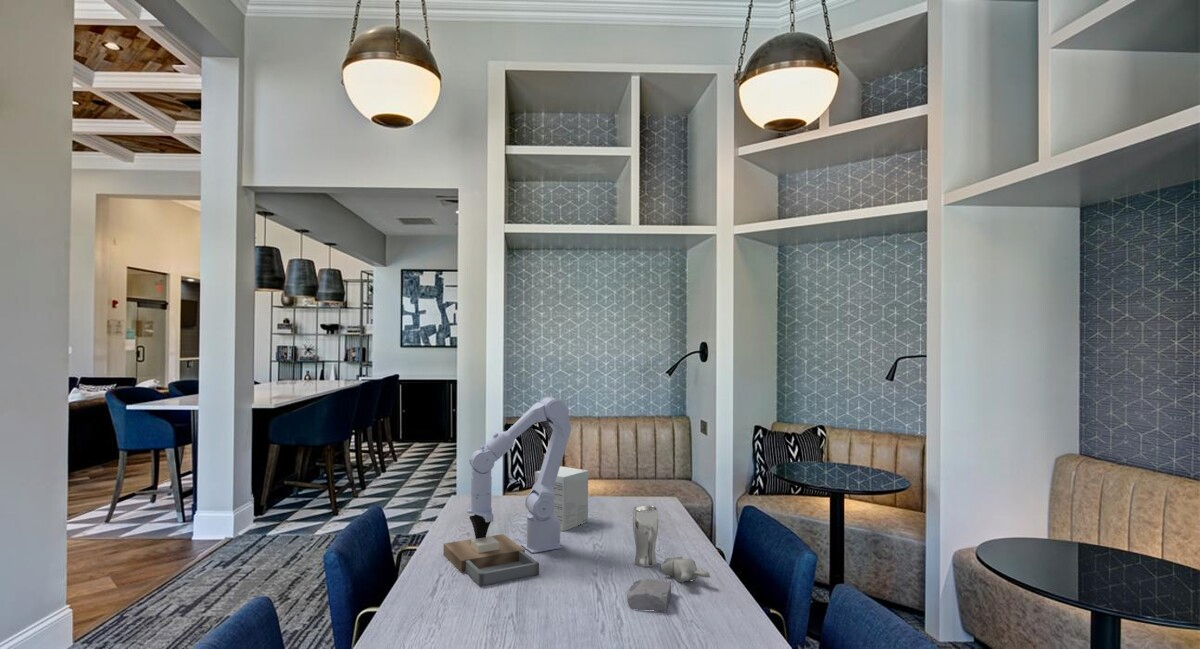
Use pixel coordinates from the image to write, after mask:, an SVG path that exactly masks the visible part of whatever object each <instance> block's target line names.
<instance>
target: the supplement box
mask: <svg viewBox="0 0 1200 649" xmlns="http://www.w3.org/2000/svg"><path fill="white" fill-rule="evenodd" d="M539 474H540V470H536V471H534V484H535V483H536V482H537V480H538V477H539ZM554 495H555V496H554V500H553V504H554V510H553V513H552V515H556V516H557V517H558V519H559V522H560V532H565V531H568V530H570V529H573V528H576V527H579V526H581V525H584V524H586V523H585V522H587V523H588V522H589V470H587V469H581V468H573V467H567V466H561V465H560V468H559V471H558V475H557V478H556V481H555V484H554ZM583 523H584V524H583ZM580 524H581V525H580ZM578 525H579V526H578Z"/></svg>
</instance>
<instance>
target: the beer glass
mask: <svg viewBox="0 0 1200 649" xmlns="http://www.w3.org/2000/svg"><path fill="white" fill-rule="evenodd" d="M658 512H659V511H658V507H656V506H653V505H648V504H647V505H645V504H641V505H635V506H634V507H633V515H632V530H633V531H632V532H633V538H634V544H635V558H634V561H633V562H634V565H635V566H637V567H640V566H641V568H652V567H654V566H656V565H657V558H656V545H657V538H658V533H659V513H658ZM651 566H652V567H651Z"/></svg>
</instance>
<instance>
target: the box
mask: <svg viewBox="0 0 1200 649" xmlns="http://www.w3.org/2000/svg"><path fill="white" fill-rule="evenodd" d="M464 573H465V574H467V576H469V578H470V579H471V580H472V581H473V582H474V583H475V584H476V585H477V586H478V587H486V586H491V585H496V584H501V583H506V582H509V581H510V582H511V581H516V580H519V579H520V580H521V579H526V578H530V577H535V576H536V577H537V576H539V575H540V562H538V561H536V559H534V558H533V557H531V556H530V555H528V554H527V553H526V552H525V553H524V552H523V551H519V561H516V562H511V563H505V564H500V565H495V566H489V567H484V568H477V567H476V566H475V565H474V564H473V563H472V562H471V561H470V560H467V561H466V571H465V572H464Z"/></svg>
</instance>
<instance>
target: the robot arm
mask: <svg viewBox="0 0 1200 649" xmlns="http://www.w3.org/2000/svg"><path fill="white" fill-rule="evenodd" d="M569 411H570V409H569V408H568V407H567V405H566V404H565V402H564V401H563V400H562V399H560V398H553V397H552V396H544V397H542V398H540V400H539V401H537V402H535V403H534V404H533V405H532V406H531V407H530V408H529V409H528V410H527V411H526V412H525V413H524V414H523V415H522V416H520V417H519V419H518V420H517V421H516V422H515V423H514V424H513V425H511V426H510V427H509V428H508V430H506V431H504V430H503V431H502V430H501V431H499V432H495V433H493V434H492V436H493V437H492V438H491V439H490V440H489V441H487V442H486V443H485V444H484V445H483V444H482V445H481V446H480V447H479V450H478V449H477V450H475V451H474V452H473V453H472V454H471V457H470V459H469V465H470V466H471V467H472V468H471V478H470V479H471V480H470V482H471V483H470V495H471V496H470V503H469V509H466V513H467V514H473V515H469V518H468V519H469V520H470V522H471V524H472V527H473V532H474V537H475V538H474V539H478V538H484V537H487V534H488V530H489V527H490V525H491V523H492V522H494V514H493V507H492V483H493V482H492V477H493V476H492V470H493V468H494V466H495V462H497V461H499V459H501V458H502V457H503V456H504V455H505V454H506V453H507V452H508V451H510V449H512V448H513V447H514V442H515V439H517V438H518V437H519V436H521V435H522V434H523V433H525V431H527V430H528V429H529V428H530V427H532V426H533V424H535V423H539V422H547V423H548V424H549V427H550V428H551V430H552V432H551V436H550V439H549V442H548V445H547V449H546V452H545V455H544V458H543V461H542V464H541V468H540V470H539V471H540V474H539V477H538V480H537V482H536V483H535V482H534V484H533V485H532V488H531V491H530V492H529V493H528V494H527V496H526V497H525V501H524V505H525V508H526V509H527V510H528V513H527V514H526V543H525V542H523V543H521V546H520V547H522V548H523V549H525V550H527V551H528V552H529V553H531V554H535V553H541V552H545V551H547V552H548V551H552V550H558V549H562V546H561V531H560V522H559V519H558V517H557V516H556V515H552V513H553V510H554V504H553V500H554V496H555V495H554V484H555V481H556V478H557V475H558V471H559V468H560V466H561V465H562V461H563V458H564V455H565V451H566V449H567V446H568V442H569V438H570V435H571V432H572V425H571V419H570V416H569Z"/></svg>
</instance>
